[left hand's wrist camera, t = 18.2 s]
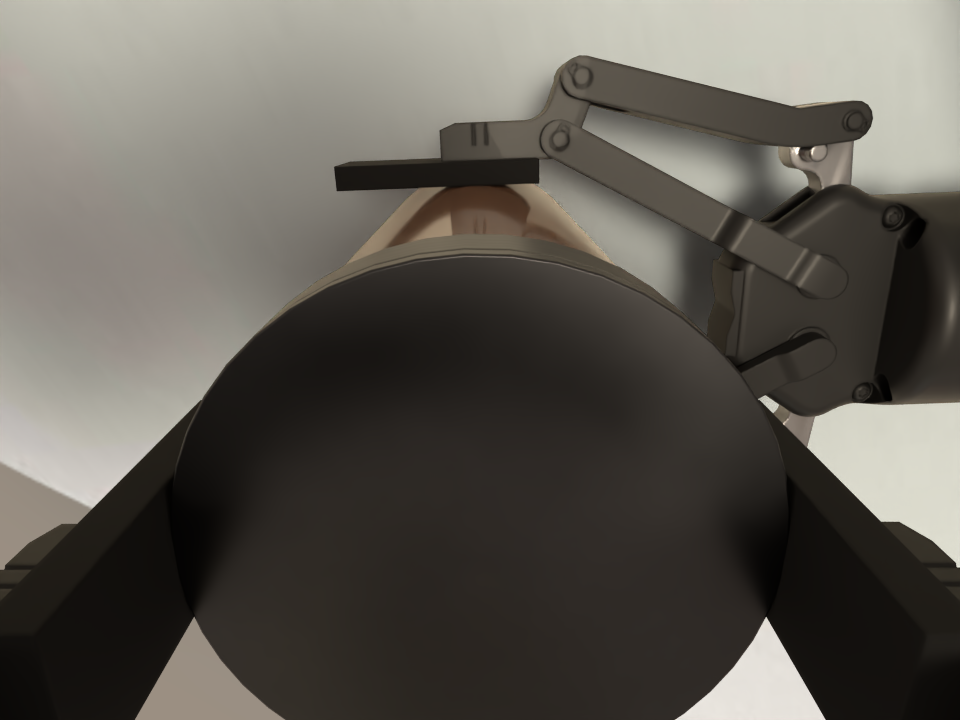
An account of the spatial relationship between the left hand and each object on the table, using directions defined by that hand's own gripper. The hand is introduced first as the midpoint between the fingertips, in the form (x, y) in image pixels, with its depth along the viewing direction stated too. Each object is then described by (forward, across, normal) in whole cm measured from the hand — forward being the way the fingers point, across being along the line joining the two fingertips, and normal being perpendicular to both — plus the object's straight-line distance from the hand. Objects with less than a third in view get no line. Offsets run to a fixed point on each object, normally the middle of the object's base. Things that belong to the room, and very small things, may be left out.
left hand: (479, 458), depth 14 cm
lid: (-3, 0, 0) cm, 3 cm away
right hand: (+11, -4, 0) cm, 12 cm away
